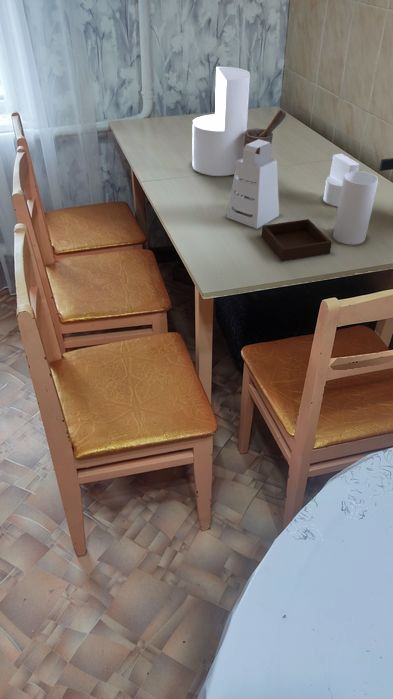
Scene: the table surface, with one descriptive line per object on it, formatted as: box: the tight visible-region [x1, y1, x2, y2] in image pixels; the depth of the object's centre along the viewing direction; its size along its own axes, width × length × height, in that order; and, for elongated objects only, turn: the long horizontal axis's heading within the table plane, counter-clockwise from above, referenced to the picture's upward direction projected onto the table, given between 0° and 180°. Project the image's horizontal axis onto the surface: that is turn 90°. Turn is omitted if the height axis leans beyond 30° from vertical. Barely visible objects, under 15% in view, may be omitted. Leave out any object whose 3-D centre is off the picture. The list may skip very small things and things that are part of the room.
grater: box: [225, 139, 280, 229], centre depth 144 cm, size 10×10×20 cm
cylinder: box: [191, 65, 251, 177], centre depth 171 cm, size 17×17×28 cm
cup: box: [332, 170, 379, 245], centre depth 137 cm, size 8×8×16 cm
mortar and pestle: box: [244, 109, 287, 155], centre depth 168 cm, size 12×9×20 cm
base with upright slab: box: [323, 153, 360, 207], centre depth 156 cm, size 9×9×12 cm
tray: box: [260, 218, 333, 262], centre depth 137 cm, size 13×13×3 cm
